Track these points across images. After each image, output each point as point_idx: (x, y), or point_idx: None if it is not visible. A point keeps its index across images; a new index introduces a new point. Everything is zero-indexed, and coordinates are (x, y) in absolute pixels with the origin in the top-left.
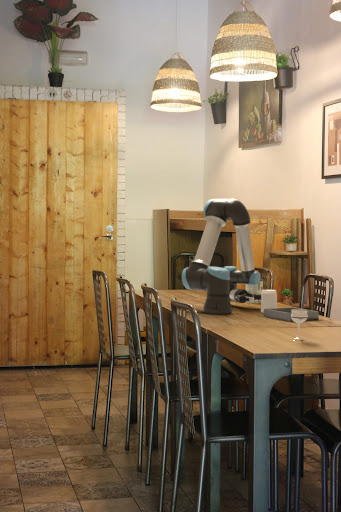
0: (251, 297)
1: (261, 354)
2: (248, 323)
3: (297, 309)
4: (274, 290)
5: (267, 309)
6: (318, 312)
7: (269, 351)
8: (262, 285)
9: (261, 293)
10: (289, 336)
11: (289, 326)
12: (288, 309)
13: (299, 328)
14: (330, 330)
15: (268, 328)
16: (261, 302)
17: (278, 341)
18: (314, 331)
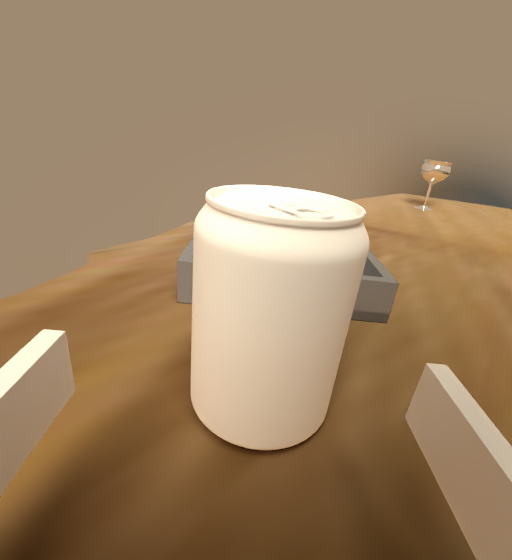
0: (470, 399)
1: (499, 206)
2: (502, 274)
3: (438, 161)
4: (211, 195)
5: (387, 270)
6: None
7: (487, 206)
8: None
9: (365, 257)
10: (428, 215)
11: (381, 234)
12: None
13: (428, 190)
14: None
15: (449, 239)
16: (344, 341)
17: (460, 212)
18: None
